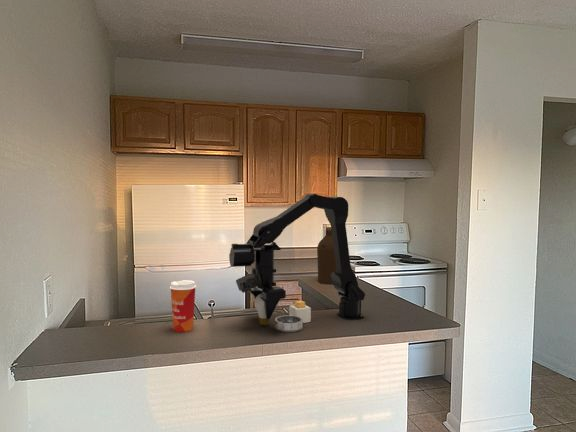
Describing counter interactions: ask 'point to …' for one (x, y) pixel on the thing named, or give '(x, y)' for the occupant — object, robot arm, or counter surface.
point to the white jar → (301, 313)
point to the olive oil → (326, 258)
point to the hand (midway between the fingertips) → (263, 315)
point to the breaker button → (299, 304)
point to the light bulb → (261, 310)
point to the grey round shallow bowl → (288, 323)
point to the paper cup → (183, 305)
